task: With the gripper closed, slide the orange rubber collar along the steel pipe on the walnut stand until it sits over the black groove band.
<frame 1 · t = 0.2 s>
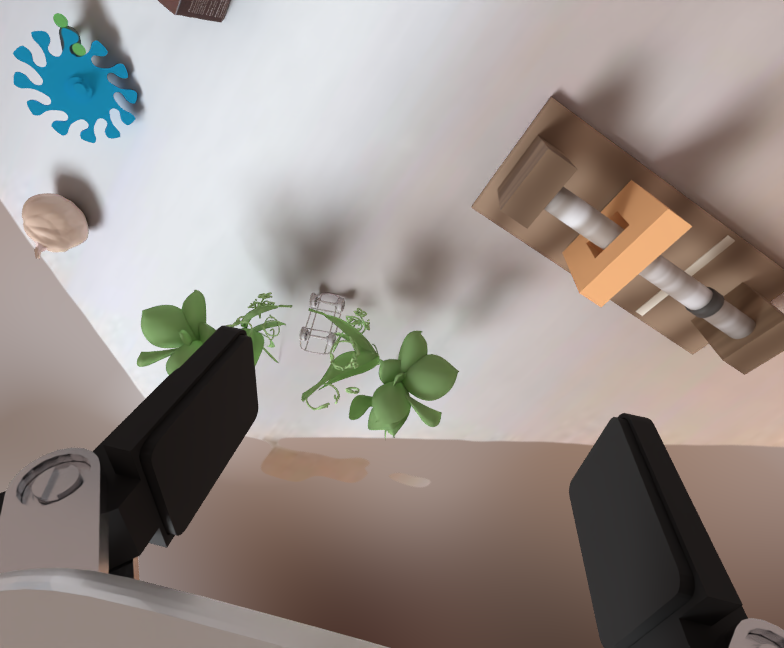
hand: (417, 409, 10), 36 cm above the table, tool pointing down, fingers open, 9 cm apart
garlic bulb: (77, 213, 53), on the table
blue lobed piece: (107, 80, 43), on the table
pipe stand: (629, 240, 42), on the table
collar: (616, 241, 37), point 6 cm above the table, slide at -4.0 cm
plant cuttings: (331, 326, 56), on the table
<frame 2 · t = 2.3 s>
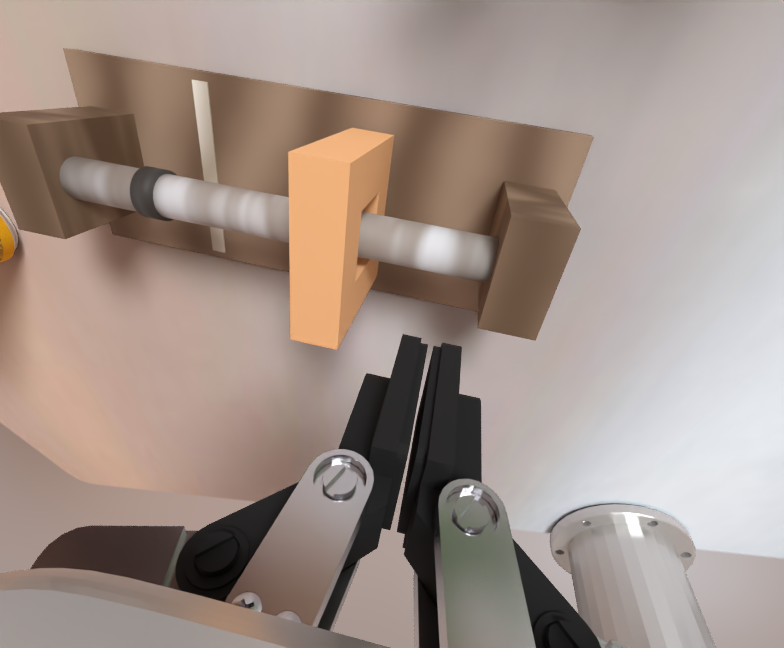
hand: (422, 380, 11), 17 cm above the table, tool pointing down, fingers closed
pipe stand: (314, 191, 27), on the table
collar: (345, 231, 21), point 6 cm above the table, slide at -4.0 cm
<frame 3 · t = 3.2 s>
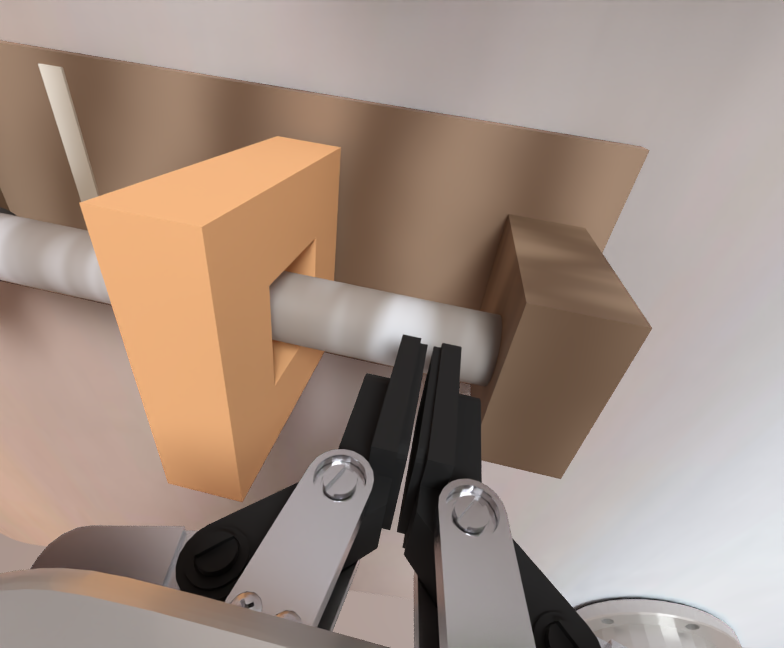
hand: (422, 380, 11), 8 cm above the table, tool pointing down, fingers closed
pipe stand: (239, 223, 19), on the table
collar: (261, 301, 14), point 6 cm above the table, slide at -4.0 cm
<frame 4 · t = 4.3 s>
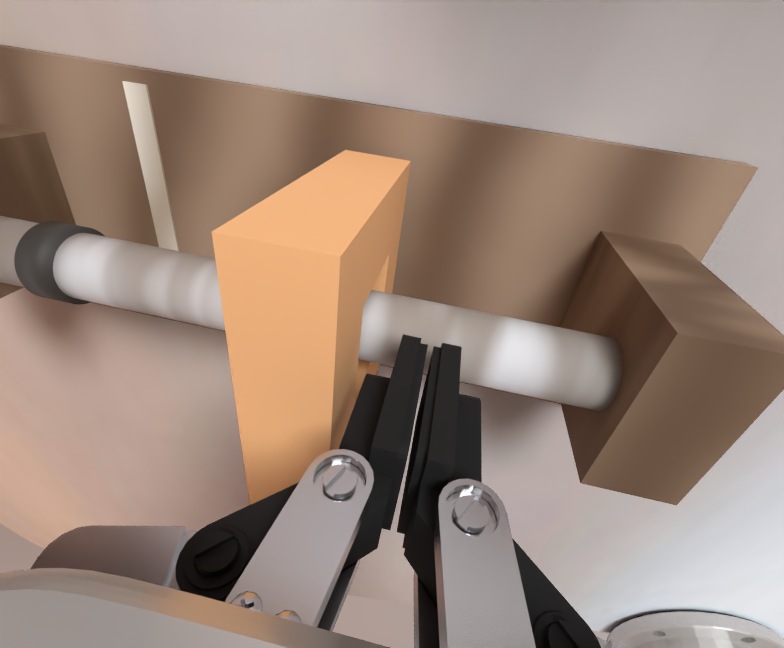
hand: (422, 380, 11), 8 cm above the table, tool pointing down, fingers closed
pipe stand: (311, 239, 19), on the table
collar: (336, 318, 14), point 6 cm above the table, slide at -3.1 cm, touching gripper
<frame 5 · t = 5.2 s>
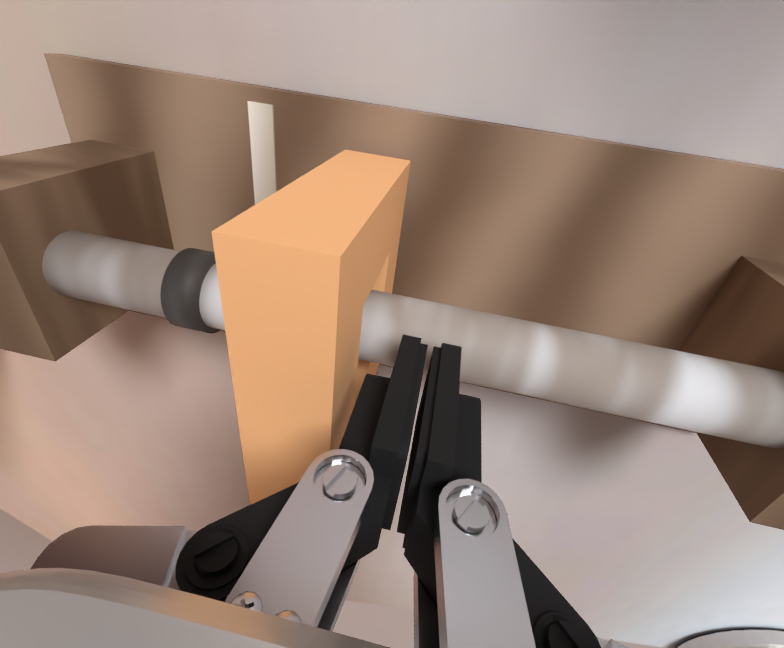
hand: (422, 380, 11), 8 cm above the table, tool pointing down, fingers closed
pipe stand: (419, 259, 18), on the table
collar: (336, 318, 14), point 6 cm above the table, slide at 2.2 cm, touching gripper
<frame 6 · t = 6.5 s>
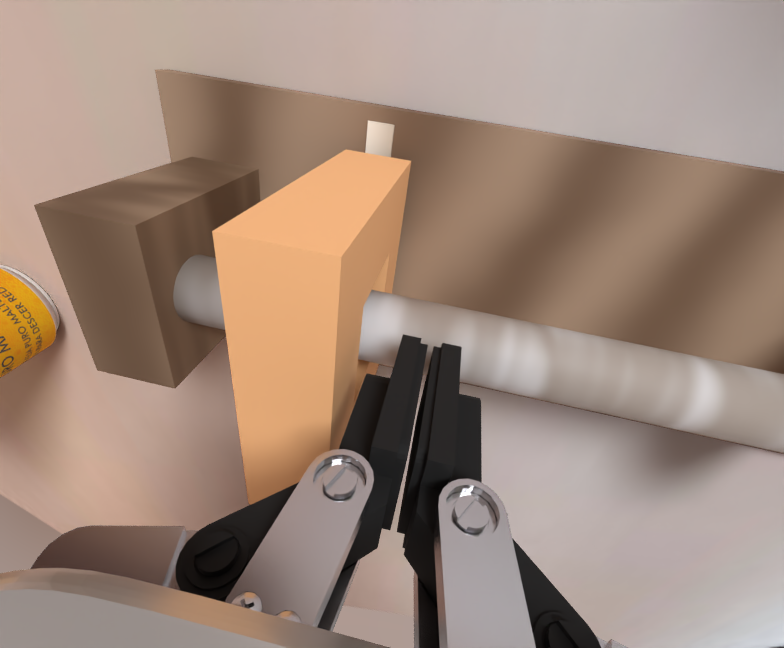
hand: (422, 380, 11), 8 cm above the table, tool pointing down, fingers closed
pipe stand: (521, 280, 18), on the table
collar: (336, 318, 14), point 6 cm above the table, slide at 6.9 cm, touching gripper
beer can: (23, 299, 25), on the table
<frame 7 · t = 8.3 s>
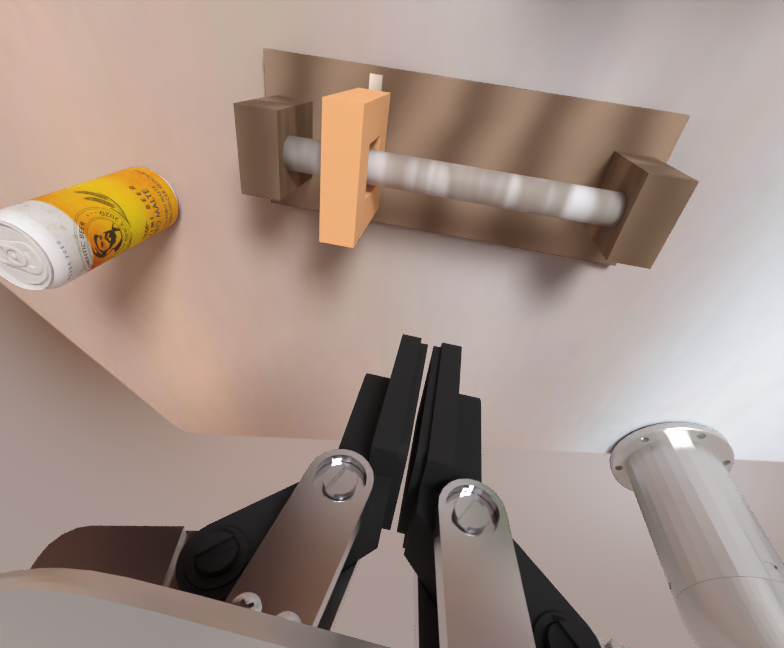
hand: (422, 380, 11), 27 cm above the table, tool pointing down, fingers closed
pipe stand: (452, 162, 34), on the table
collar: (356, 164, 29), point 6 cm above the table, slide at 6.9 cm
beer can: (155, 195, 40), on the table
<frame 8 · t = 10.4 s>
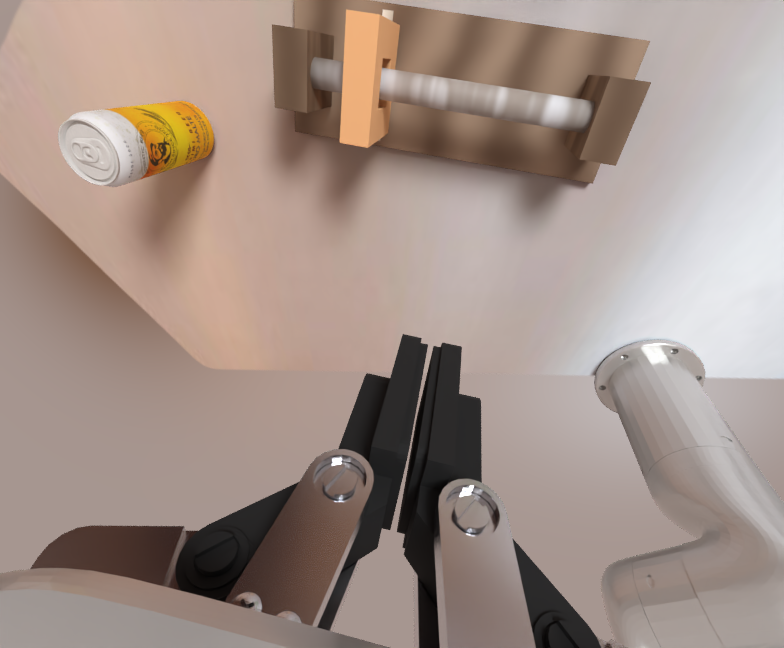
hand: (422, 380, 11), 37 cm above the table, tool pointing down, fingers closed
pipe stand: (451, 91, 39), on the table
collar: (370, 82, 35), point 6 cm above the table, slide at 6.9 cm
beer can: (194, 130, 46), on the table
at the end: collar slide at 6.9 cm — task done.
